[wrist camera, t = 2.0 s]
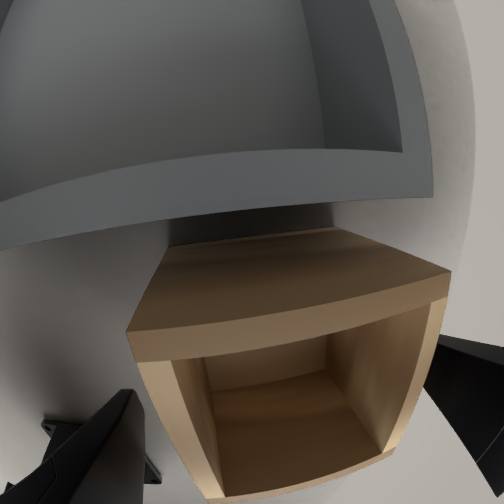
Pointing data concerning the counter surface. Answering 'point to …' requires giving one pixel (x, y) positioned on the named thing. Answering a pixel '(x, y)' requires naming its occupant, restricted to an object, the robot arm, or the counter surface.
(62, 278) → the counter surface
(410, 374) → the oak crate
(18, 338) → the counter surface
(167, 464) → the counter surface
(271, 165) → the slate gray crate
